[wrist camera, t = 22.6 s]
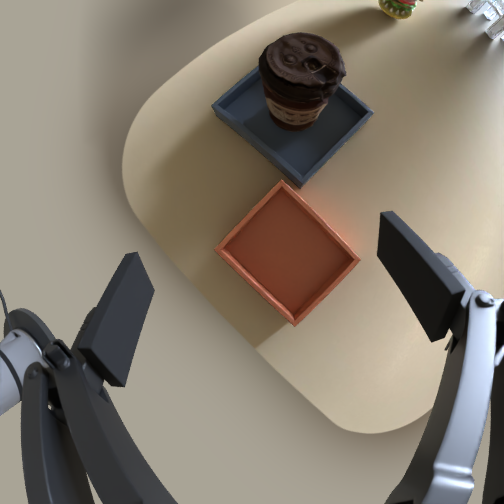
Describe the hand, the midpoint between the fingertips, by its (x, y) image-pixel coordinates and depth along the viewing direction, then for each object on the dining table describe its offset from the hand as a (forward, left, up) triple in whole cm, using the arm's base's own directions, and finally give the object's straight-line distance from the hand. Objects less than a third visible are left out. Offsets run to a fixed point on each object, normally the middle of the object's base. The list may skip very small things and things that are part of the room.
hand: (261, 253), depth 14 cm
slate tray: (-9, +15, -20) cm, 27 cm away
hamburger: (-13, +50, -20) cm, 55 cm away
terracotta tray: (+3, +1, -20) cm, 20 cm away
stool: (+3, +86, -20) cm, 88 cm away
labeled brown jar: (-9, +15, -20) cm, 26 cm away
